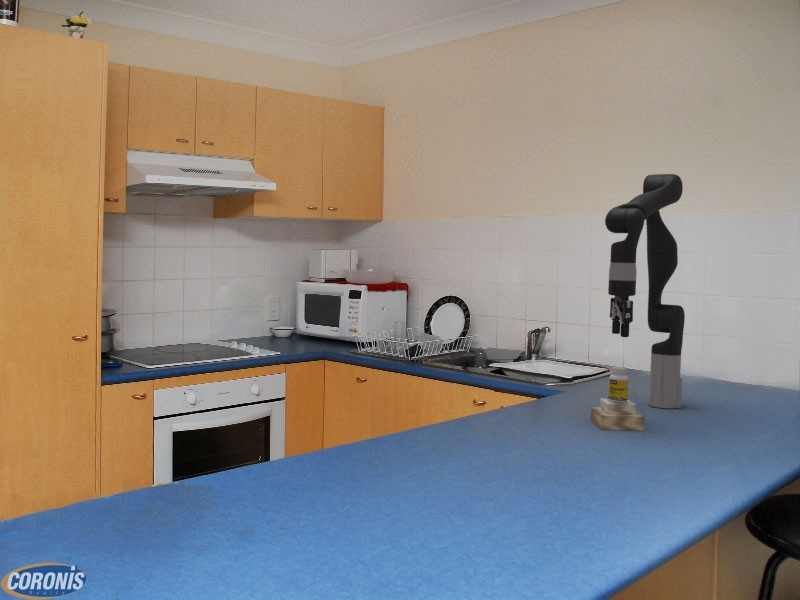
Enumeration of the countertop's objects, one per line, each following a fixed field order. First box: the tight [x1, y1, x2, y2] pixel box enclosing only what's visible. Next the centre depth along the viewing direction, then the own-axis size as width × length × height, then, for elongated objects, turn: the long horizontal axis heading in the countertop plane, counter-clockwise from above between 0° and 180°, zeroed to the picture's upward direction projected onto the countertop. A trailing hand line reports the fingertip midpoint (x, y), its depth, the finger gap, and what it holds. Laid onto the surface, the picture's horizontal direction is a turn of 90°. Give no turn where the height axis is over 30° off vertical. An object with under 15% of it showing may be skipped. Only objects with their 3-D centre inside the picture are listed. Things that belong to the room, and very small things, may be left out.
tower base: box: [590, 397, 646, 432], centre depth 224 cm, size 12×12×7 cm
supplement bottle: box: [607, 366, 629, 403], centre depth 224 cm, size 5×5×10 cm
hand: (620, 335), depth 223 cm, fingers open, 8 cm apart
